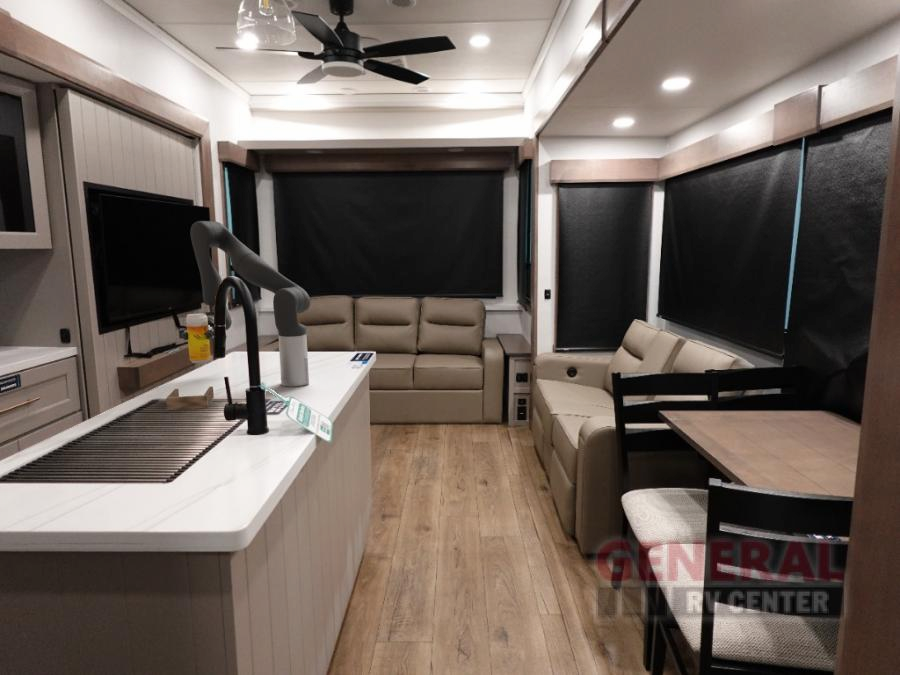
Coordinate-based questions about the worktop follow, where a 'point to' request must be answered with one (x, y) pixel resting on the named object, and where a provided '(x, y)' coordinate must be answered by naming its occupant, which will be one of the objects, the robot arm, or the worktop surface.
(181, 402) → the can holder
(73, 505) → the worktop surface
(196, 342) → the amber medicine vial
